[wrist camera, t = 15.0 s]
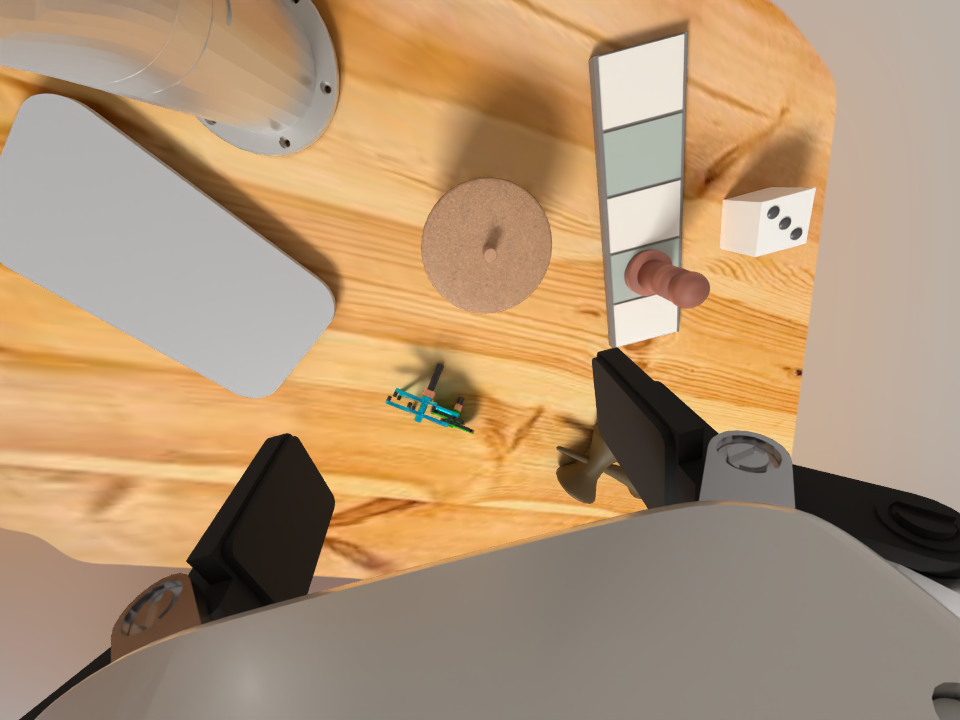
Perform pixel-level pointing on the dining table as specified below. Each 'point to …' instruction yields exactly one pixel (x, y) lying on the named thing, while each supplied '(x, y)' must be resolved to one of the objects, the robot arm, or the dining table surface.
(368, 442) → the dining table surface
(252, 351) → the tablet
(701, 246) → the dining table surface
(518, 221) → the lidded jar
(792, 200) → the die
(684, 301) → the pawn
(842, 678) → the robot arm
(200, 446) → the dining table surface
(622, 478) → the kendama
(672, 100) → the track board
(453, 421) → the stick construction toy
